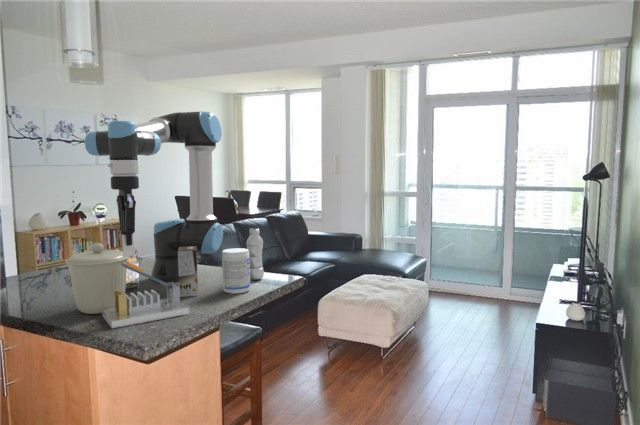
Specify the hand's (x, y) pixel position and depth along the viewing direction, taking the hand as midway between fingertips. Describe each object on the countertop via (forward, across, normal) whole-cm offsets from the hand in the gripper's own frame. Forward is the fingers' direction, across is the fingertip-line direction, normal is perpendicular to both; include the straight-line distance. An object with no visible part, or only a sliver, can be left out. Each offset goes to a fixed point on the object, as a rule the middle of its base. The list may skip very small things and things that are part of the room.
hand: (128, 255), depth 143 cm
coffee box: (+19, -16, +23) cm, 34 cm away
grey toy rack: (+19, 0, +4) cm, 19 cm away
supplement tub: (+19, -9, +38) cm, 43 cm away
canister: (+19, -14, -6) cm, 24 cm away
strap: (+8, 0, +5) cm, 9 cm away
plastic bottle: (+19, -20, +51) cm, 58 cm away
